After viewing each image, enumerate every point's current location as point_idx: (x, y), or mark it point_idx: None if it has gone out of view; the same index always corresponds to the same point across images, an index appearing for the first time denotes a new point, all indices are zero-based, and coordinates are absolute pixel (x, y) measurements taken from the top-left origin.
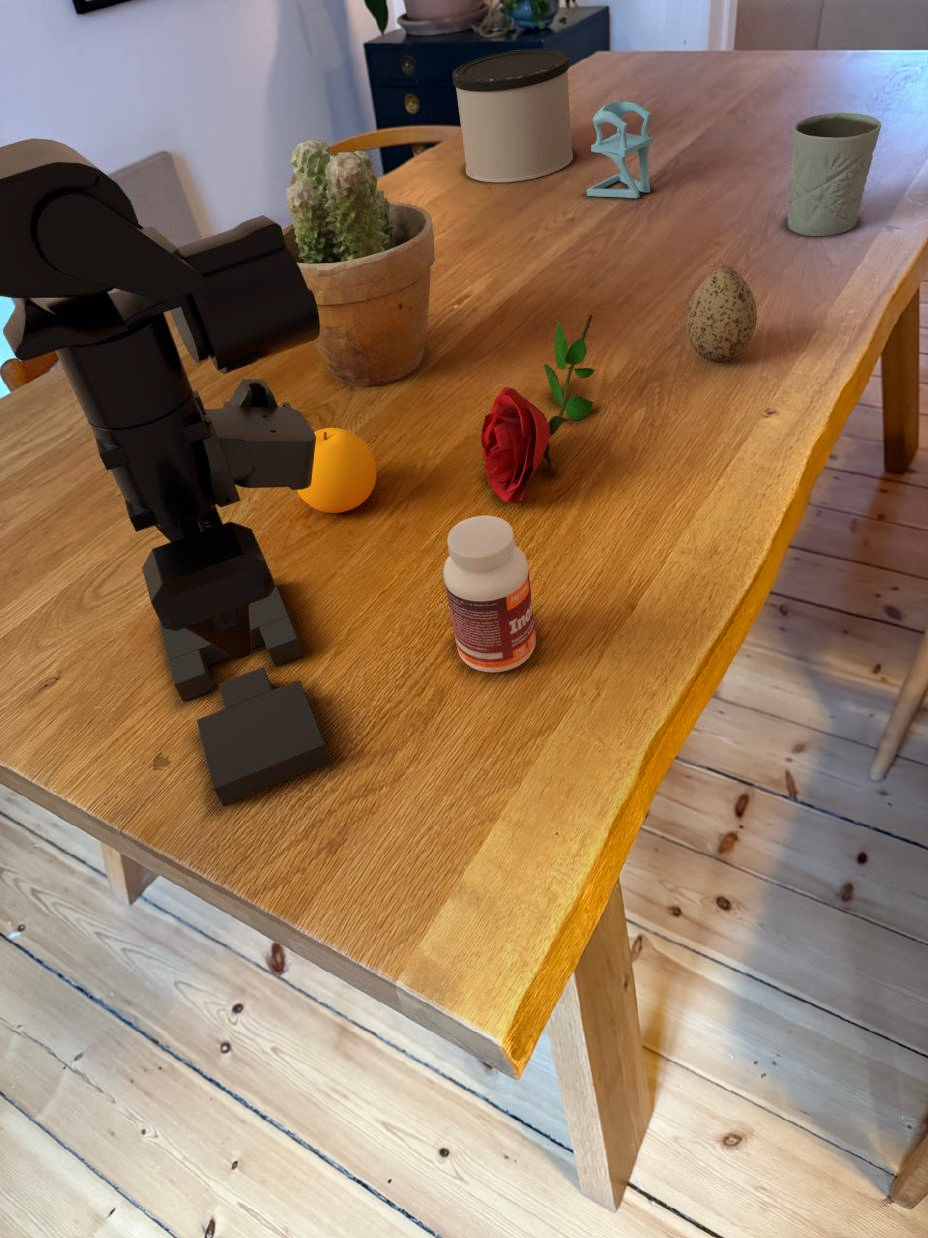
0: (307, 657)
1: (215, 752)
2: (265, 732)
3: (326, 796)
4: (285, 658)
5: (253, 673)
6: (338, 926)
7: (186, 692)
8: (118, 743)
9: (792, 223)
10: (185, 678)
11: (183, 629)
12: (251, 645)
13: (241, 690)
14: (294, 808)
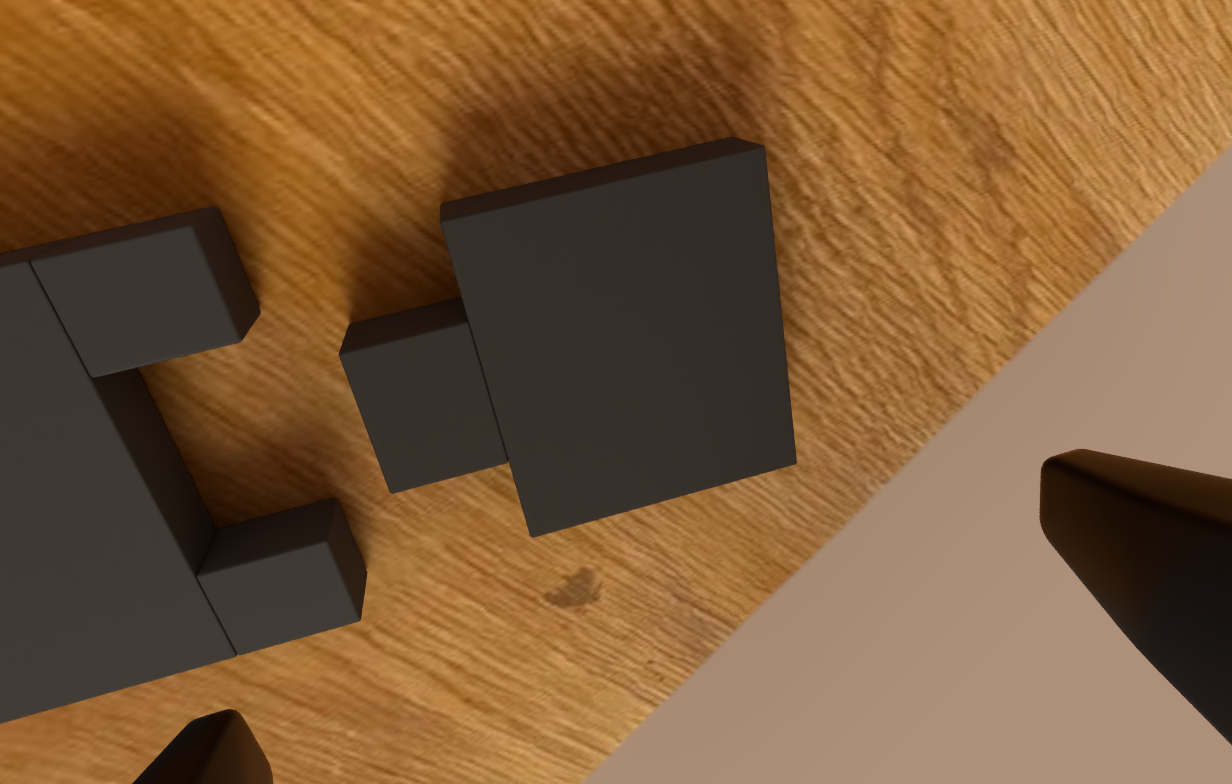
0: (228, 192)
1: (677, 473)
2: (648, 336)
3: (842, 160)
4: (240, 274)
5: (366, 386)
6: (1180, 156)
7: (359, 574)
8: (482, 695)
9: None
10: (338, 594)
11: (73, 639)
12: (1148, 463)
13: (440, 420)
14: (844, 251)
